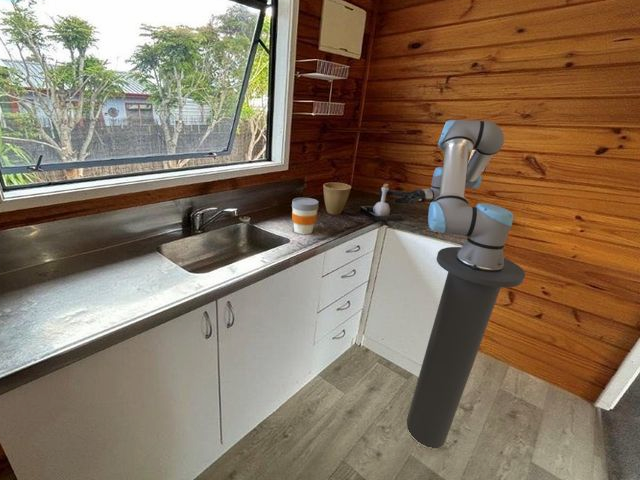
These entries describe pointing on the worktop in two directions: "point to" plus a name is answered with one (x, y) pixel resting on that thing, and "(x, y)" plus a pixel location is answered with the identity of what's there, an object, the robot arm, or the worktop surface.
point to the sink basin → (367, 212)
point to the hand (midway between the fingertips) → (386, 197)
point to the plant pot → (335, 197)
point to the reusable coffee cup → (304, 214)
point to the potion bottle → (382, 203)
